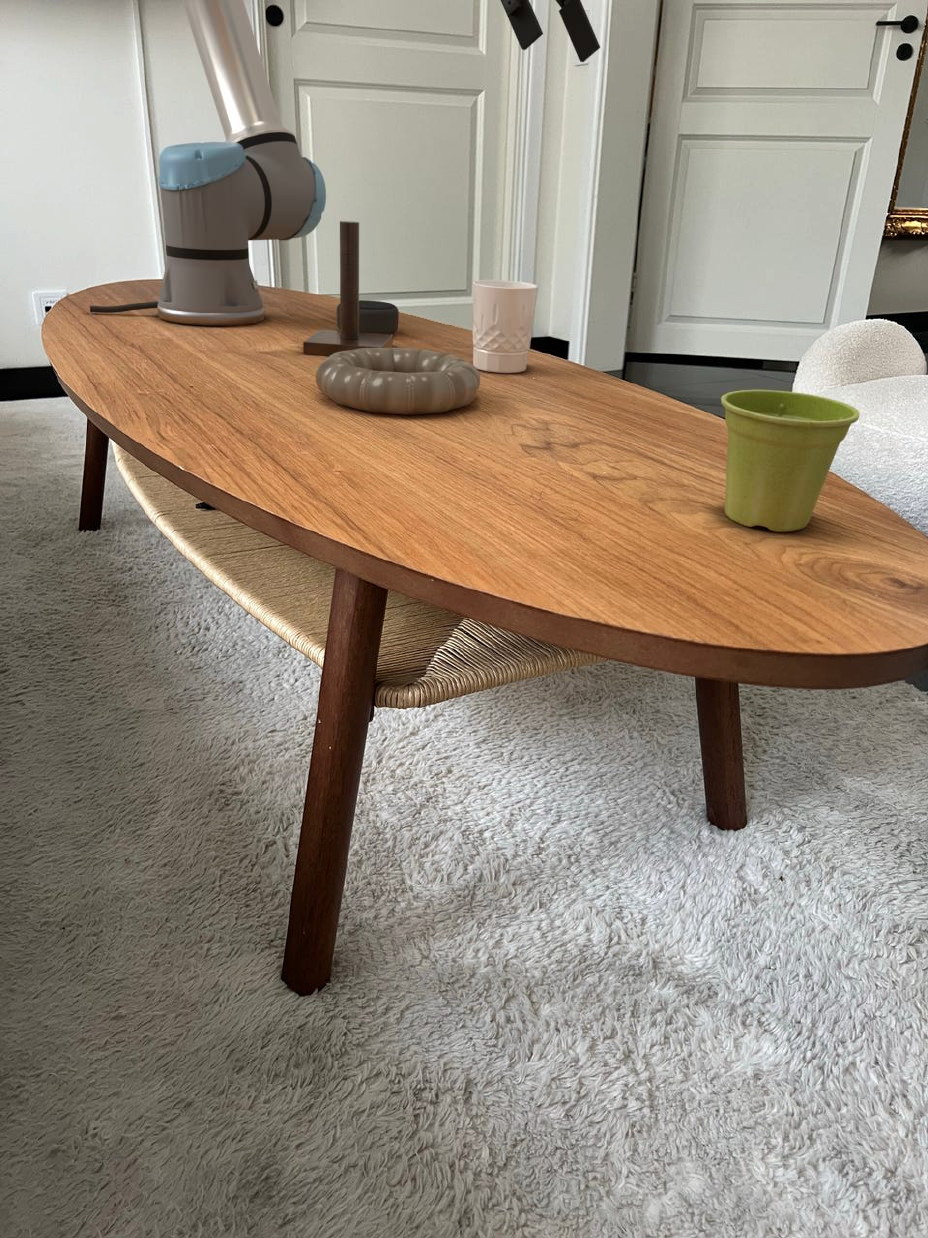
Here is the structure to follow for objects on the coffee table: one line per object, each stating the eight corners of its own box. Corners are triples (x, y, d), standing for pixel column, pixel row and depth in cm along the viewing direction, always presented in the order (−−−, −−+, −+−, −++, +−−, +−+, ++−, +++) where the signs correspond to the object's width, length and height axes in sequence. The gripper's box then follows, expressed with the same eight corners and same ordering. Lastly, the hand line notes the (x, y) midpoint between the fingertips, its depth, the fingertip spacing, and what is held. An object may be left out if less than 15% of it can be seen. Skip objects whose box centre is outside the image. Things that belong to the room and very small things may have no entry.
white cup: (543, 370, 114) (551, 286, 109) (502, 377, 109) (509, 289, 104) (496, 359, 118) (502, 278, 114) (455, 365, 113) (459, 281, 109)
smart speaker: (350, 325, 136) (350, 297, 134) (406, 331, 134) (407, 303, 132) (327, 333, 128) (326, 304, 127) (385, 340, 126) (386, 310, 125)
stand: (303, 353, 115) (300, 220, 108) (320, 340, 123) (318, 217, 117) (381, 359, 114) (383, 226, 107) (392, 345, 123) (395, 222, 116)
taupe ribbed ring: (301, 411, 89) (300, 369, 87) (335, 375, 104) (335, 340, 102) (472, 423, 88) (475, 382, 86) (482, 386, 103) (484, 350, 102)
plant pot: (756, 548, 62) (783, 424, 58) (676, 503, 70) (695, 391, 66) (857, 535, 66) (889, 417, 62) (771, 493, 74) (794, 386, 70)
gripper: (444, -191, 92) (530, 10, 94) (565, -128, 111) (635, 38, 113) (397, -131, 97) (480, 58, 99) (520, -81, 116) (588, 78, 118)
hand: (562, 48), depth 106 cm, fingers open, 13 cm apart
